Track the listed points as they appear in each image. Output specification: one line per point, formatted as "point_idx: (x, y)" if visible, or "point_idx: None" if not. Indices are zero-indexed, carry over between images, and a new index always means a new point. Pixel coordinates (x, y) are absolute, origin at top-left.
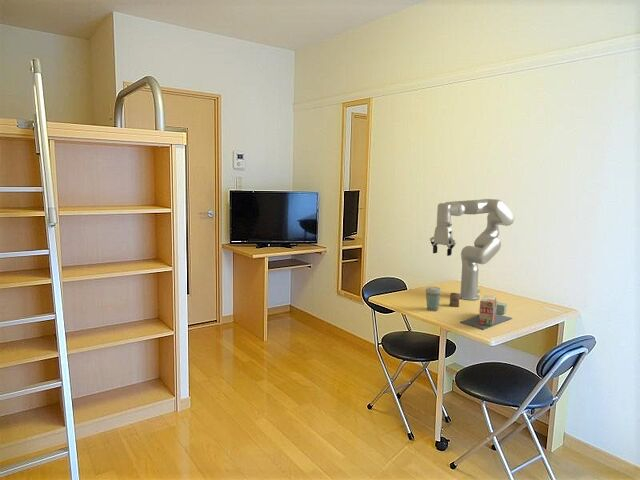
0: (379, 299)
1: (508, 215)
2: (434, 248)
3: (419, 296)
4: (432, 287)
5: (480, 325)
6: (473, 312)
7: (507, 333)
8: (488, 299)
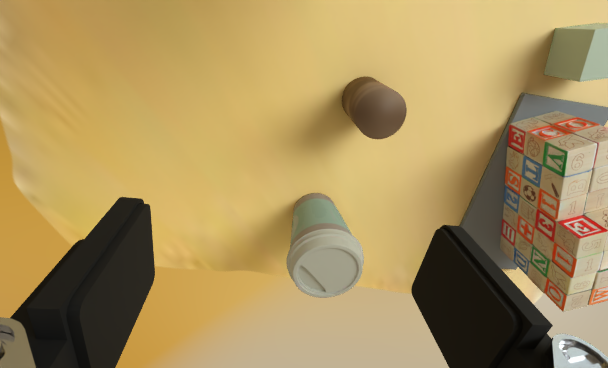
0: (73, 244)
1: None
2: (117, 358)
3: (139, 66)
4: (311, 256)
5: (505, 255)
6: (461, 133)
7: None
8: (597, 286)
